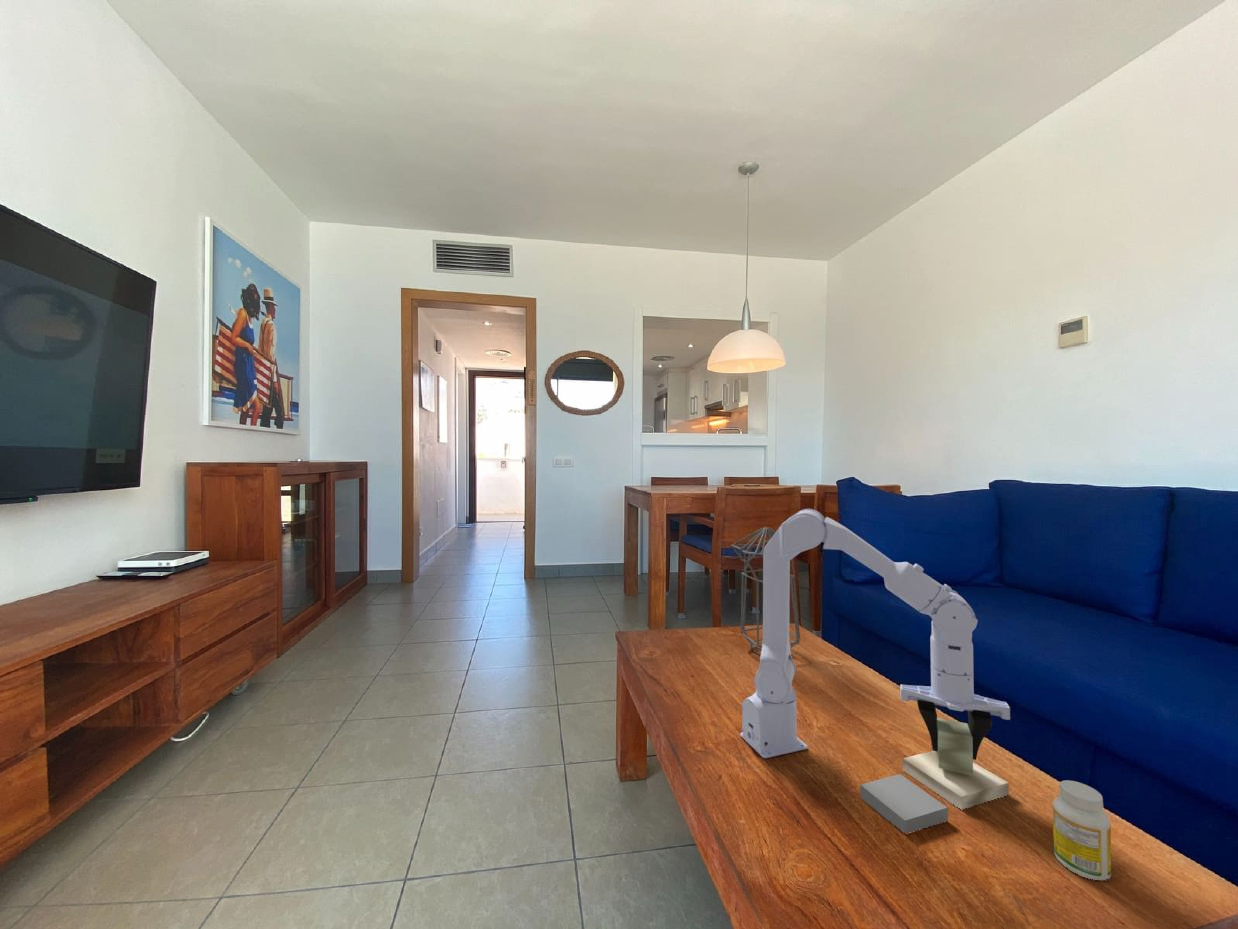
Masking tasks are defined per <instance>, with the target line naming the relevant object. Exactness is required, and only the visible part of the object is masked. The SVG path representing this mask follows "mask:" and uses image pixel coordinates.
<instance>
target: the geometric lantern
mask: <svg viewBox="0 0 1238 929" xmlns="http://www.w3.org/2000/svg"><path fill="white" fill-rule="evenodd" d="M776 532H777V530H775V529H773V528H772V527H769V526H768V527H767V526H763V527H761V528H760V529H759V528H758V529H757V530H756V531H754V532H752V533H750V534H748V535H746V536H745V537H743V538H741V539H739V540H738V541H735V542H734V543H732V544H730V545H729V547H730V548H732V549H733V550H734V552H735V553H736V555H737V556H738V558H739V559H740V561H741V562H743V563H744V564H743V566H744V567H743V572H741V602H740V603H741V604H740V606H741V607H740V609H741V610H740V635H741V636H743V637H744V638H745V639H746V640H747V642H749V644H750V650H751V651H752V650H753V651H752V652H753V653H756V654H757V655H759V656H761V652H758V651H756V650H755V649H758V650H760V651H762V645H763V644H760V642H761V641H763V638H761V639H760V637H759V636H760V630H763V626H760V613H759V611H760V602H759V600H760V598H759V597H760V596H759V595H760V594H759V593H760V592H759V587H760V586H759V583H762V584H763V579H762V580H761V579H759V578H758V576H757V575H756V573H755V572H763V569H753V567H752V565H751V563H750V562H751V560H752V559H753V558H755V556H762V558H763V551H764V548H765V544H767V543H768V542H769V541H770V539H771V538H772V537H773V535H774V534H775V533H776ZM750 538H751V539H750ZM759 538H760V539H759ZM766 538H767V539H768V540H766ZM748 539H750V540H749V541H748V542H747V543H746V544H743V543H742V542H743V541H746V540H748ZM758 539H759V540H758ZM757 541H759V542H758V543H757ZM755 543H756V544H755ZM761 546H762V549H761ZM752 547H756V549H755V551H752ZM737 549H738V550H737ZM742 553H743V557H744V558H743V557H742ZM801 553H802V552H800V553H799V554H801ZM746 555H748V558H747V556H746ZM790 561H791V566H792V573H793V574H791V573H790V592H791V600H792V601H791V602H792V608H793V618H794V626H795V633H792V632H790V631H789V636H792V637H794V638H795V640H794V641H792V642H790V647H791V649H792V648H793V647H795V646H796V645H799V644H800V643H801V631H800V621H799V611H798V610H799V609H798V600H797V587H796V575H795V574H796V573H795V568H794V558H793V559H791V560H790ZM748 568H749V569H750V570H748ZM748 573H752V574H753V576H754V577H752V576H751V575H748ZM747 578H749V579H751V580H753V581H756V627H753V628H746V627H745V626H746V625H745V624H746V608H747V607H746V605H747V604H746V603H747V583H748V582H747ZM749 631H756V640H753V639H751V637H749V635H748V634H747V632H749Z"/></svg>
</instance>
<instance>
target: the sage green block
mask: <svg viewBox="0 0 1238 929" xmlns="http://www.w3.org/2000/svg"><path fill="white" fill-rule="evenodd" d="M937 741H938V752H937V751H935V754H936V758H937V763H938V767H939V768H941V769H946V770H950V771H954V772H959V773H963V774H967V775H972V776H973V763H974V760H973V737H972V735H971V732H970V730H969V724H968V723H966V722H961V721H956V720H950V719H946V718H940V717H937Z"/></svg>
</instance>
